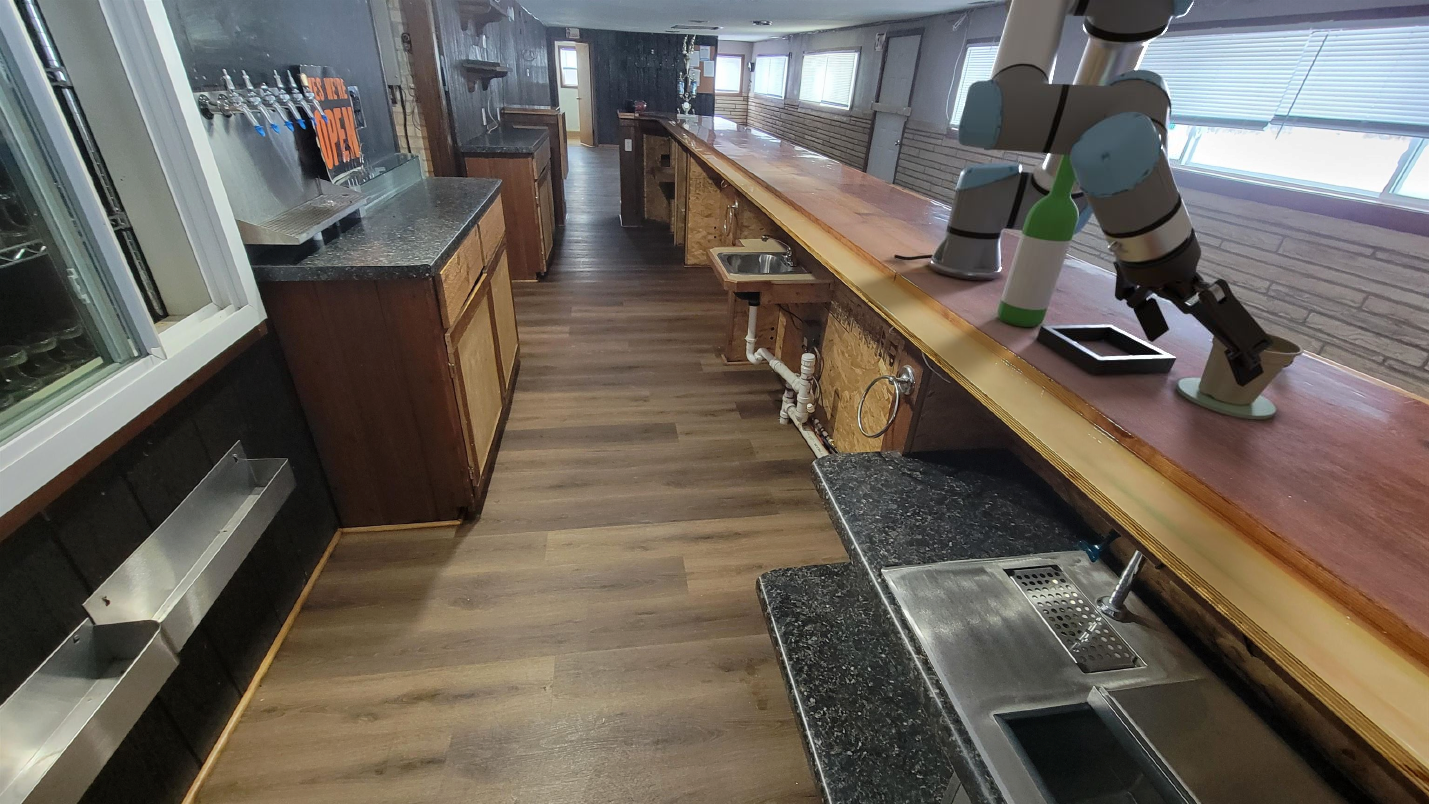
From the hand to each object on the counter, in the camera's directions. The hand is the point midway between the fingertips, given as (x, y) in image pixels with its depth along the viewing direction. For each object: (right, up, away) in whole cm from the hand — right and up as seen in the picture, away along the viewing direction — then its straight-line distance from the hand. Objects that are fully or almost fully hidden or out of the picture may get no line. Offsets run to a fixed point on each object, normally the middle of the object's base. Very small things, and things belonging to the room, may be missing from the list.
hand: (1201, 355), depth 75 cm
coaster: (+7, -6, +4) cm, 10 cm away
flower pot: (+7, -5, +4) cm, 10 cm away
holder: (-2, +1, +16) cm, 17 cm away
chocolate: (+25, -1, +15) cm, 29 cm away
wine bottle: (-9, +9, +29) cm, 31 cm away
